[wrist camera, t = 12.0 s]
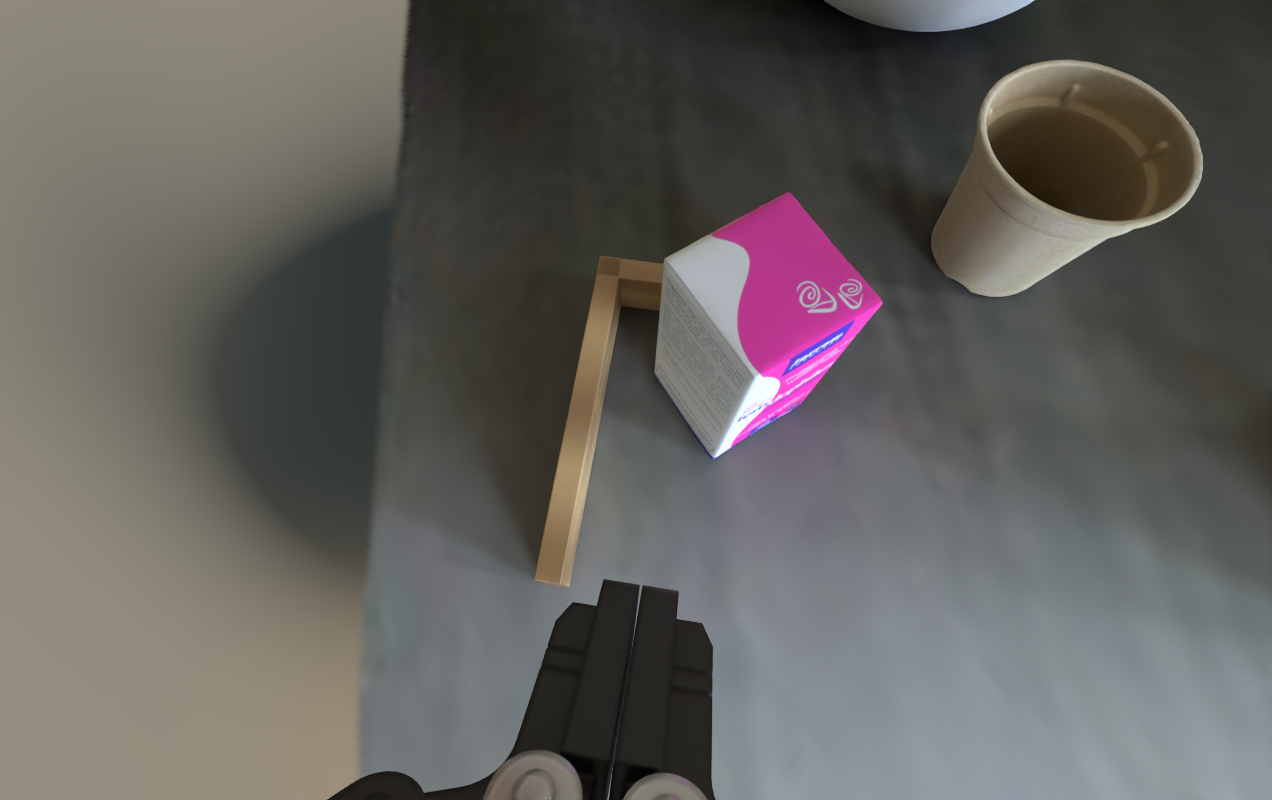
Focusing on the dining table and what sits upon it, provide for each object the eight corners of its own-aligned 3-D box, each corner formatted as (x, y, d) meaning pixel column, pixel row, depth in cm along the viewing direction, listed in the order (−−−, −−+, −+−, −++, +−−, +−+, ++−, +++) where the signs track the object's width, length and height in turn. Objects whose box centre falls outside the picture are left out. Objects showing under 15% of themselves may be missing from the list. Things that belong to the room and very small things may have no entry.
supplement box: (714, 466, 30) (751, 382, 19) (651, 374, 32) (653, 251, 21) (805, 408, 31) (889, 298, 20) (739, 323, 33) (785, 180, 22)
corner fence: (604, 285, 34) (600, 255, 31) (794, 309, 33) (807, 280, 30) (544, 583, 28) (533, 579, 25) (771, 620, 27) (785, 621, 25)
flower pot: (996, 162, 36) (1096, 31, 28) (1106, 280, 33) (1253, 171, 25) (869, 223, 35) (936, 104, 27) (971, 351, 32) (1082, 261, 24)
